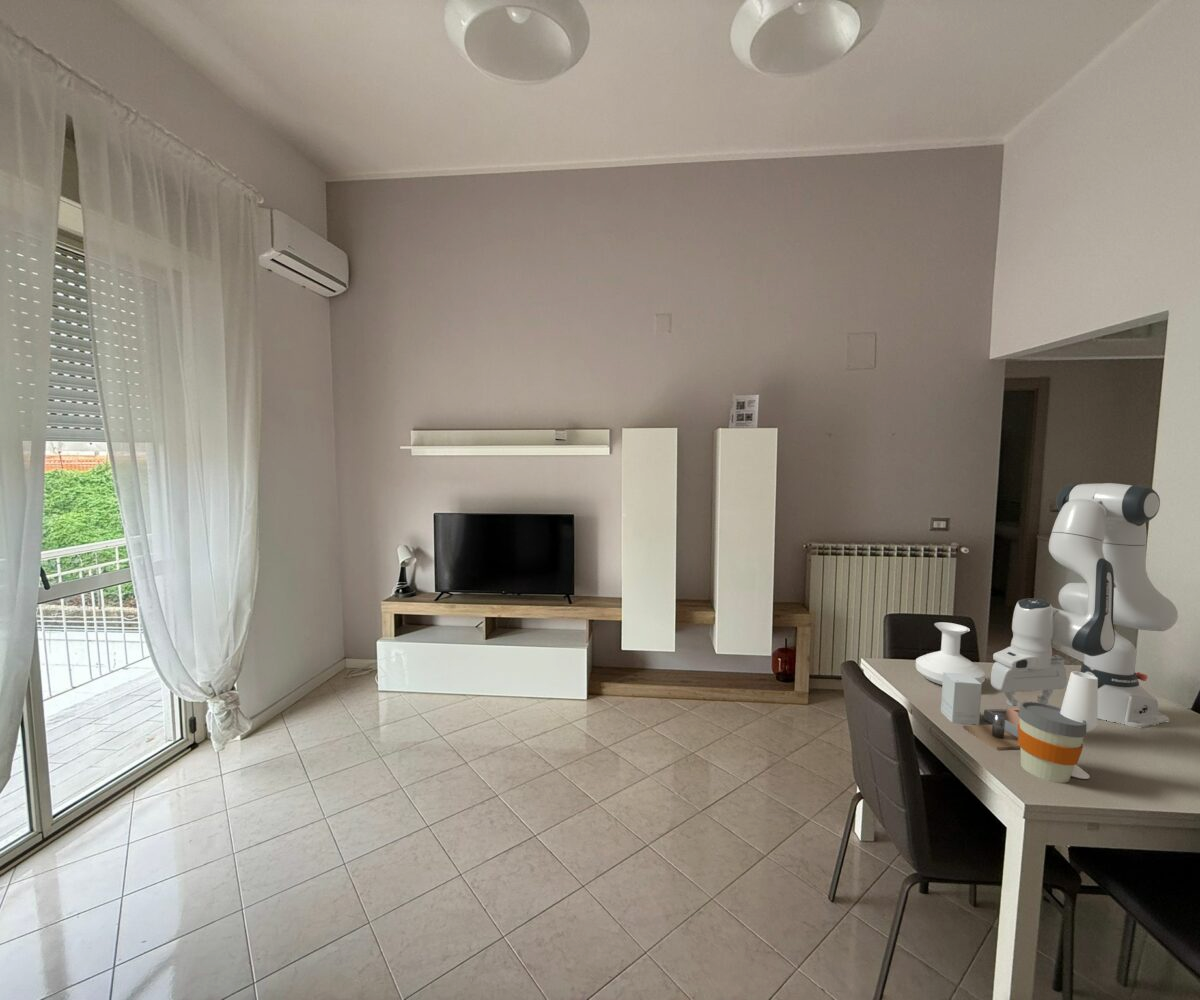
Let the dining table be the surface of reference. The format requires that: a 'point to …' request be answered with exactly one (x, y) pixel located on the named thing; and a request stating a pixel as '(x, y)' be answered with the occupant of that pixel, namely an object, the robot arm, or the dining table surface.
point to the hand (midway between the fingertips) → (1027, 704)
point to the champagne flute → (1081, 705)
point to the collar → (1013, 716)
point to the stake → (998, 725)
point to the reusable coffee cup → (1049, 741)
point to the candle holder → (948, 656)
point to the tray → (1008, 726)
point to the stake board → (986, 736)
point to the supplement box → (961, 698)
